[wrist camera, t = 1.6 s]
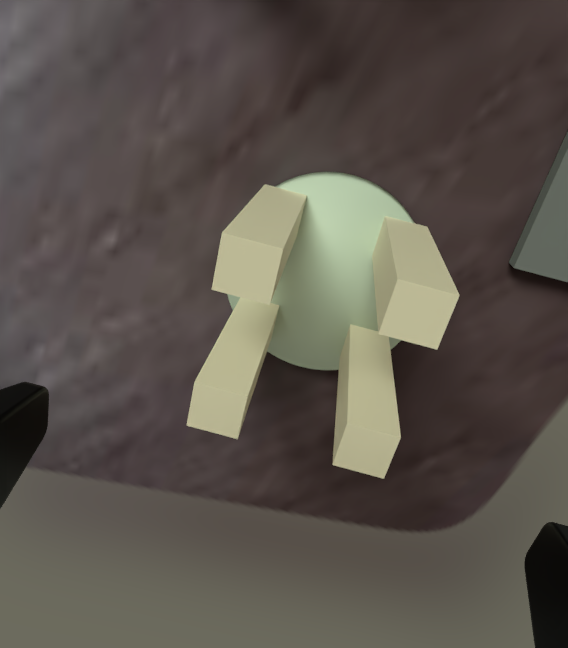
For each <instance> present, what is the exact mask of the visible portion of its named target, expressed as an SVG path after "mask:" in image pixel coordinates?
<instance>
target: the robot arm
mask: <svg viewBox="0 0 568 648" xmlns="http://www.w3.org/2000/svg"><path fill="white" fill-rule="evenodd" d="M48 406H49V392H48V390H47V389H46V388H45V387H44V386H40V385H36V384H32V383H29V382H22V383H18V384H16V385H13V386H10V387H7V388H4V389H1V390H0V508H1V507H2V505H3V504H4V502H5V501H6V499H7V497H8V496H9V494H10V492H11V491H12V489H13V487H14V486H15V484H16V482H17V481H18V479H19V478H20V476H21V474H22V473H23V471H24V469H25V468H26V466H27V464H28V463H29V461H30V459H31V458H32V456H33V454H34V453H35V451H36V449H37V448H38V446H39V444H40V443H41V441H42V439H43V438H44V435H45V433H46V430H47V426H48ZM525 573H526V582H527V590H528V598H529V605H530V613H531V620H532V628H533V636H534V643H535V648H568V526H565V525H561V524H558V523H554V522H549V523H547V524H545V525H544V527H543V528H542V529H541V531H540V533H539V534H538V536H537V538H536V539H535V541H534V542H533V544H532V545H531V547H530V549H529V550H528V552H527V554H526V557H525Z"/></svg>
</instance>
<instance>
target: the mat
mask: <svg viewBox="0 0 568 648" xmlns="http://www.w3.org/2000/svg"><path fill="white" fill-rule="evenodd" d="M509 263H510V264H511V266H512V267H513V268H516V269H519V270H523V271H527V272H531V273H534V274H538V275H542V276H546V277H550V278H553V279H557V280H561V281H565V282H568V131H567V133H566V136H565V138H564V140H563V142H562V145H561V147H560V149H559V151H558V154H557V156H556V158H555V160H554V163H553V165H552V167H551V169H550V171H549V174H548V176H547V178H546V180H545V183H544V185H543V187H542V189H541V192H540V194H539V196H538V198H537V201H536V203H535V205H534V207H533V210H532V212H531V214H530V216H529V219H528V221H527V223H526V225H525V227H524V230H523V232H522V234H521V236H520V239H519V241H518V243H517V245H516V248H515V250H514V252H513V254H512V257H511V259H510V261H509Z"/></svg>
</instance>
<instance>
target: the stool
mask: <svg viewBox="0 0 568 648" xmlns="http://www.w3.org/2000/svg"><path fill="white" fill-rule="evenodd" d="M212 290H215V291H219V292H222V293H226V294H227V295H228V298H229V301H230V305H231V307H232V309H233V312H232V314H231V316H230V317H229V319H228V321H227V323H226V325H225V327H224V328H223V330H222V332H221V334H220V336H219V338H218V340H217V341H216V343H215V345H214V347H213V349H212V351H211V353H210V354H209V356H208V358H207V360H206V362H205V364H204V365H203V367H202V369H201V371H200V373H199V375H198V377H197V378H196V380H195V383H194V388H193V393H192V399H191V404H190V410H189V415H188V421H187V426H191V427H194V428H198V429H202V430H205V431H209V432H213V433H216V434H220V435H224V436H228V437H231V438H235V439H238V436H239V433H240V430H241V427H242V424H243V421H244V418H245V415H246V412H247V409H248V406H249V403H250V400H251V397H252V394H253V391H254V389H255V386H256V383H257V380H258V377H259V374H260V371H261V368H262V365H263V362H264V359H265V356H266V353H267V352H269V353H271V354H272V355H274V356H276V357H277V358H279V359H281V360H284V361H286V362H288V363H291V364H294V365H297V366H300V367H305V368H309V369H317V370H339V374H338V389H337V404H336V420H335V435H334V450H333V465H335V466H338V467H342V468H346V469H350V470H353V471H357V472H361V473H364V474H368V475H372V476H375V477H379V478H383V479H384V477H385V475H386V472H387V470H388V468H389V465H390V463H391V460H392V458H393V456H394V453H395V451H396V448H397V446H398V443H399V441H400V439H401V434H400V425H399V417H398V409H397V400H396V392H395V384H394V376H393V367H392V359H391V351H390V350H391V349H392V348H394V347H395V346H396V345H397V344H398V343H399V342H400V341H401V340H403V341H406V342H410V343H414V344H418V345H422V346H425V347H429V348H433V349H438V346H439V344H440V342H441V339H442V337H443V334H444V332H445V329H446V327H447V325H448V322H449V320H450V317H451V315H452V312H453V310H454V308H455V305H456V303H457V300H458V298H459V293H458V291H457V289H456V287H455V285H454V282H453V280H452V278H451V276H450V274H449V272H448V270H447V268H446V266H445V263H444V261H443V259H442V257H441V255H440V253H439V251H438V249H437V246H436V244H435V242H434V240H433V238H432V236H431V234H430V232H429V230H428V227H426V226H422V225H418V224H415V223H414V221H413V219H412V218H411V216H410V215H409V213H408V211H407V210H406V209H405V208H404V207H403V206H402V204H401V203H400V202H399V201H398V200H397V199H396V198H395V197H394V196H392V195H391V194H390V193H389V192H388V191H386V190H385V189H383V188H382V187H380V186H379V185H377V184H375V183H373V182H371V181H369V180H367V179H364V178H361V177H358V176H355V175H351V174H346V173H341V172H316V173H309V174H305V175H300V176H297V177H294V178H292V179H289V180H286V181H285V182H283V183H281V184H279V185H277V186H275V187H273V186H270V185H266V184H265V185H264V186H263V187H262V188H261V189H260V191H259V192H258V193H257V194H256V195H255V196H254V197H253V198H252V200H251V201H250V202H249V203H248V204H247V205H246V206H245V207H244V209H243V210H242V211H241V212H240V213H239V214H238V215H237V216H236V218H235V219H234V220H233V221H232V222H231V223H230V224H229V225H228V227H227V228H226V229H225V230H224V231H223V232H222V236H221V241H220V247H219V252H218V258H217V263H216V268H215V274H214V279H213V285H212Z"/></svg>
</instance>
